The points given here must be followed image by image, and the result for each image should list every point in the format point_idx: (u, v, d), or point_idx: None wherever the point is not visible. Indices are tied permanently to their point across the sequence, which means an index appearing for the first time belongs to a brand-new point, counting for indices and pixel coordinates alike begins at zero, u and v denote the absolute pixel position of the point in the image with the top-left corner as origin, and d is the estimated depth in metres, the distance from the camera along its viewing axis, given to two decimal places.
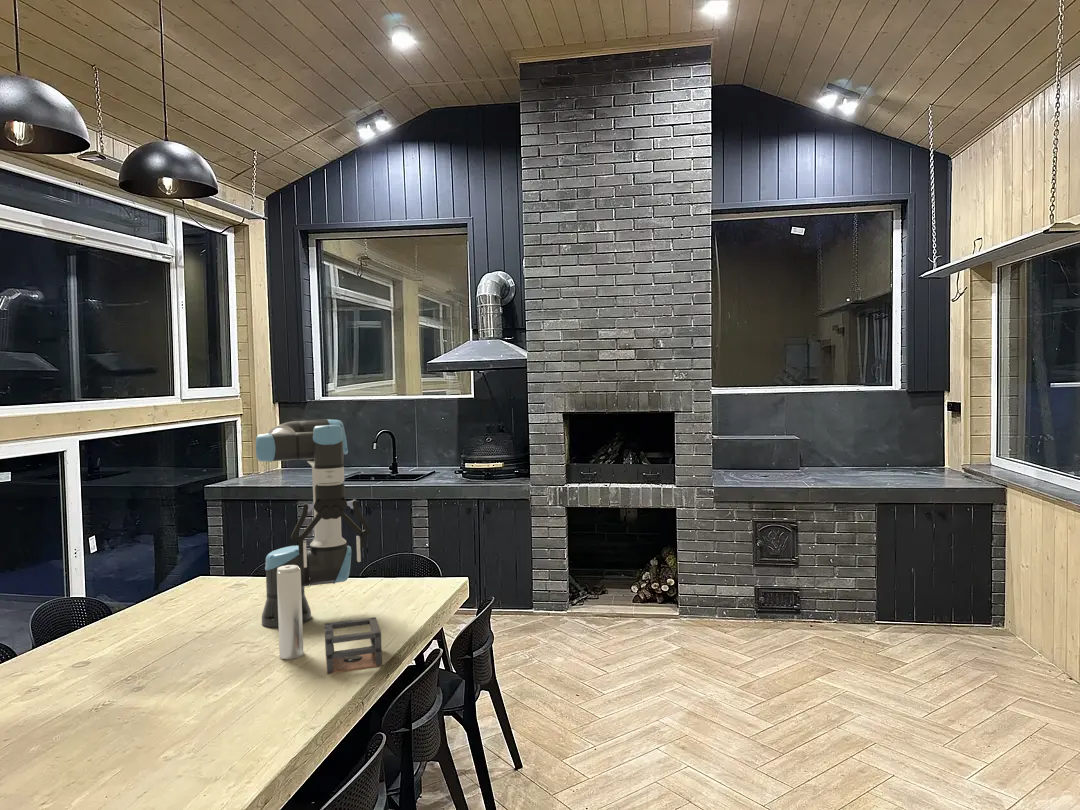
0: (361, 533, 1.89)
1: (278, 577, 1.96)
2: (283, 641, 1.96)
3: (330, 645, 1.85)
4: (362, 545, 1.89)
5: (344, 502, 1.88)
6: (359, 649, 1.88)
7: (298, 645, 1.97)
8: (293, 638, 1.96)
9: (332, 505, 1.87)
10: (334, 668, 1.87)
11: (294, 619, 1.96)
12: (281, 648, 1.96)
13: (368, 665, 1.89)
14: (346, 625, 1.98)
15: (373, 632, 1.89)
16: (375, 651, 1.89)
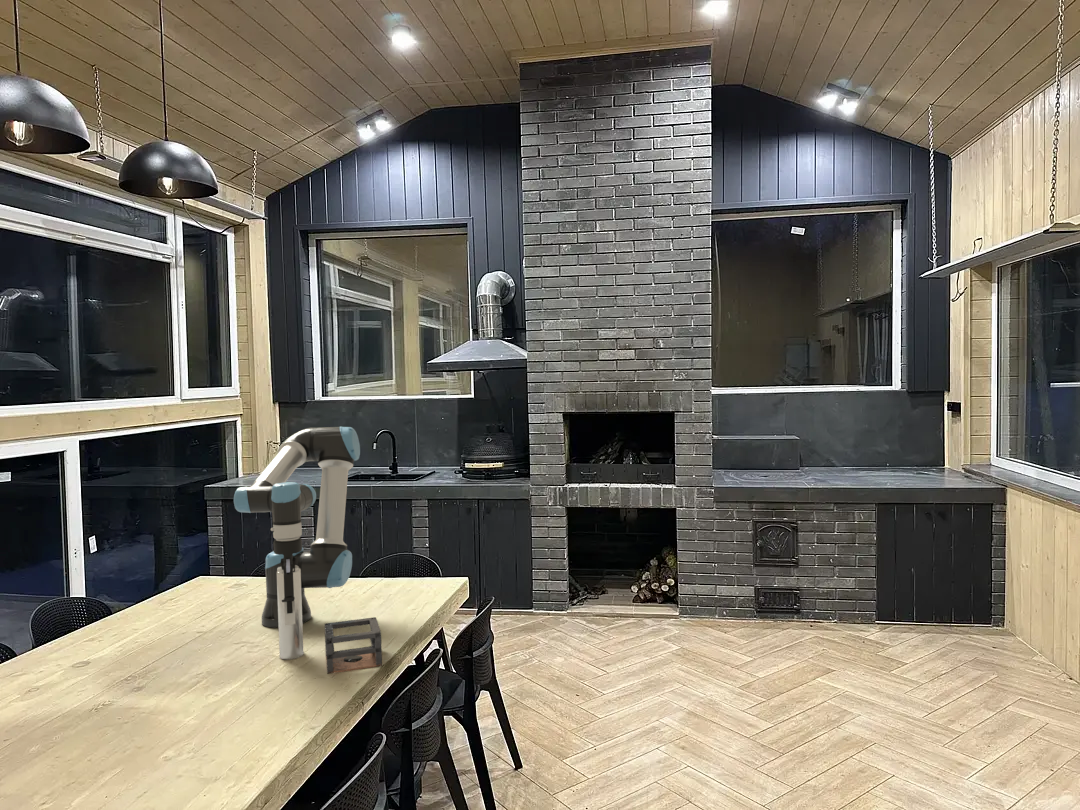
0: None
1: (278, 578, 1.96)
2: (283, 641, 1.96)
3: (330, 645, 1.85)
4: (287, 610, 1.95)
5: (284, 560, 1.95)
6: (359, 649, 1.88)
7: (298, 645, 1.97)
8: (293, 638, 1.96)
9: None
10: (334, 668, 1.87)
11: None
12: (280, 648, 1.96)
13: (368, 665, 1.89)
14: (346, 625, 1.98)
15: (373, 632, 1.89)
16: (375, 651, 1.89)
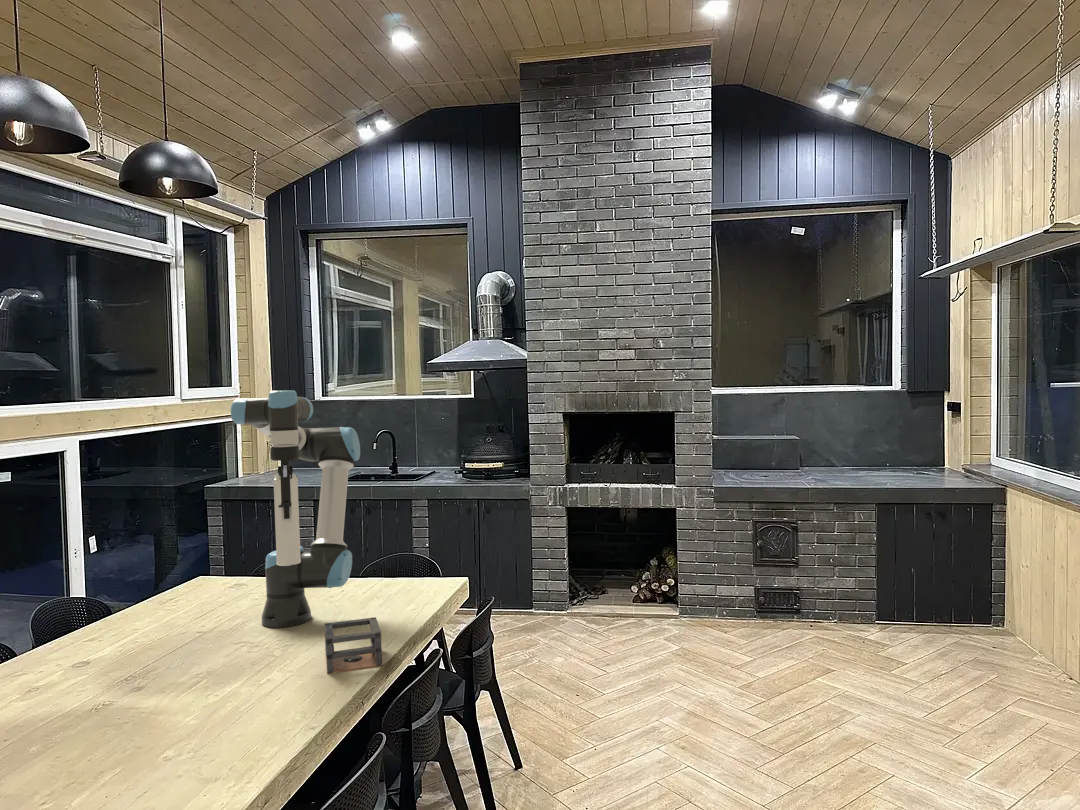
0: None
1: (275, 484, 1.96)
2: (280, 547, 1.96)
3: (330, 645, 1.85)
4: (284, 515, 1.94)
5: (280, 466, 1.94)
6: (359, 649, 1.88)
7: (295, 552, 1.97)
8: (290, 544, 1.96)
9: None
10: (334, 668, 1.87)
11: None
12: (278, 555, 1.96)
13: (368, 665, 1.89)
14: (346, 625, 1.98)
15: (373, 632, 1.89)
16: (375, 651, 1.89)
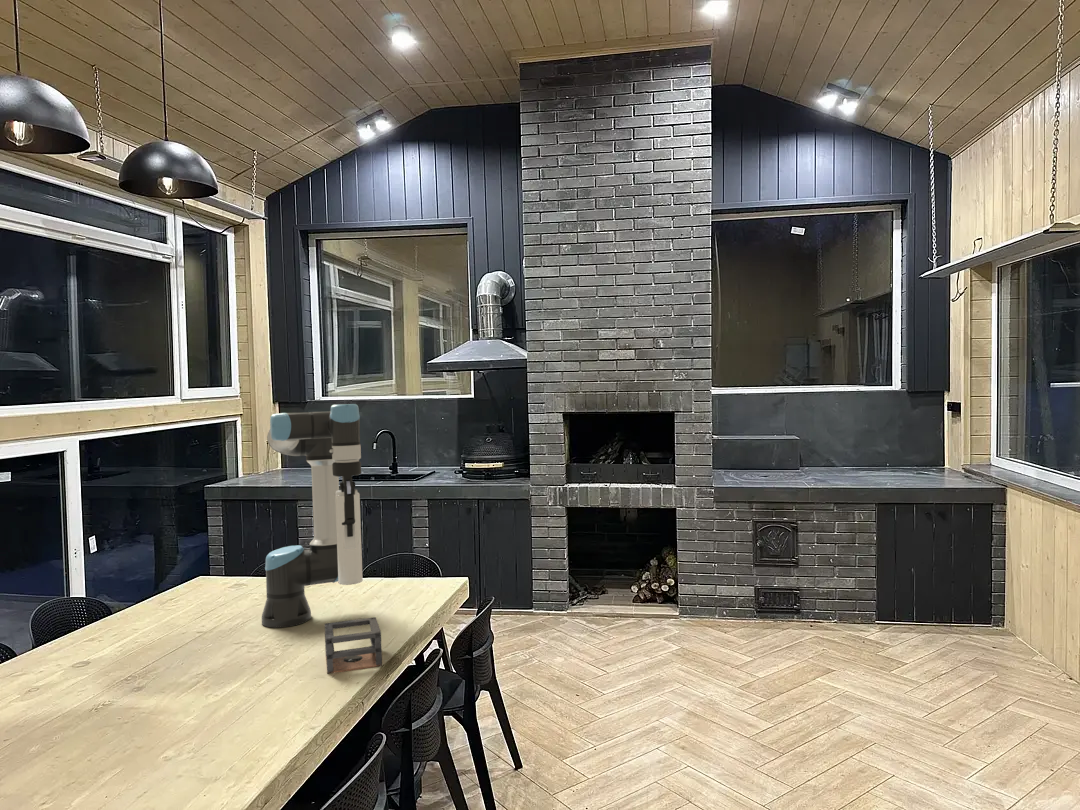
0: None
1: (337, 500, 1.90)
2: (342, 566, 1.90)
3: (330, 645, 1.85)
4: (347, 533, 1.89)
5: (344, 482, 1.89)
6: (359, 649, 1.88)
7: (357, 570, 1.91)
8: (353, 563, 1.90)
9: None
10: (334, 668, 1.87)
11: None
12: (340, 574, 1.90)
13: (368, 665, 1.89)
14: (346, 625, 1.98)
15: (373, 632, 1.89)
16: (375, 651, 1.89)
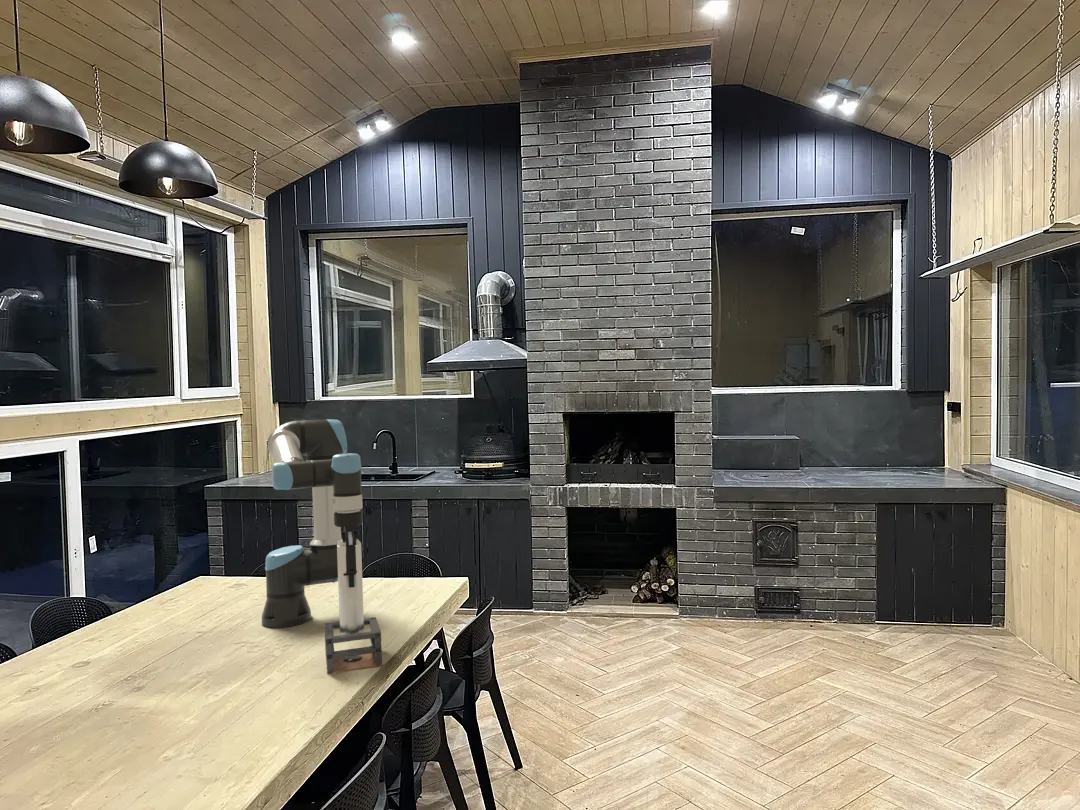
0: (346, 571, 1.89)
1: (339, 551, 1.90)
2: (344, 616, 1.90)
3: (330, 645, 1.85)
4: (349, 584, 1.89)
5: (345, 533, 1.89)
6: (359, 649, 1.88)
7: (359, 620, 1.91)
8: (354, 613, 1.91)
9: (344, 528, 1.92)
10: (334, 668, 1.87)
11: None
12: (341, 624, 1.91)
13: (368, 665, 1.89)
14: None
15: (373, 632, 1.89)
16: (375, 651, 1.89)
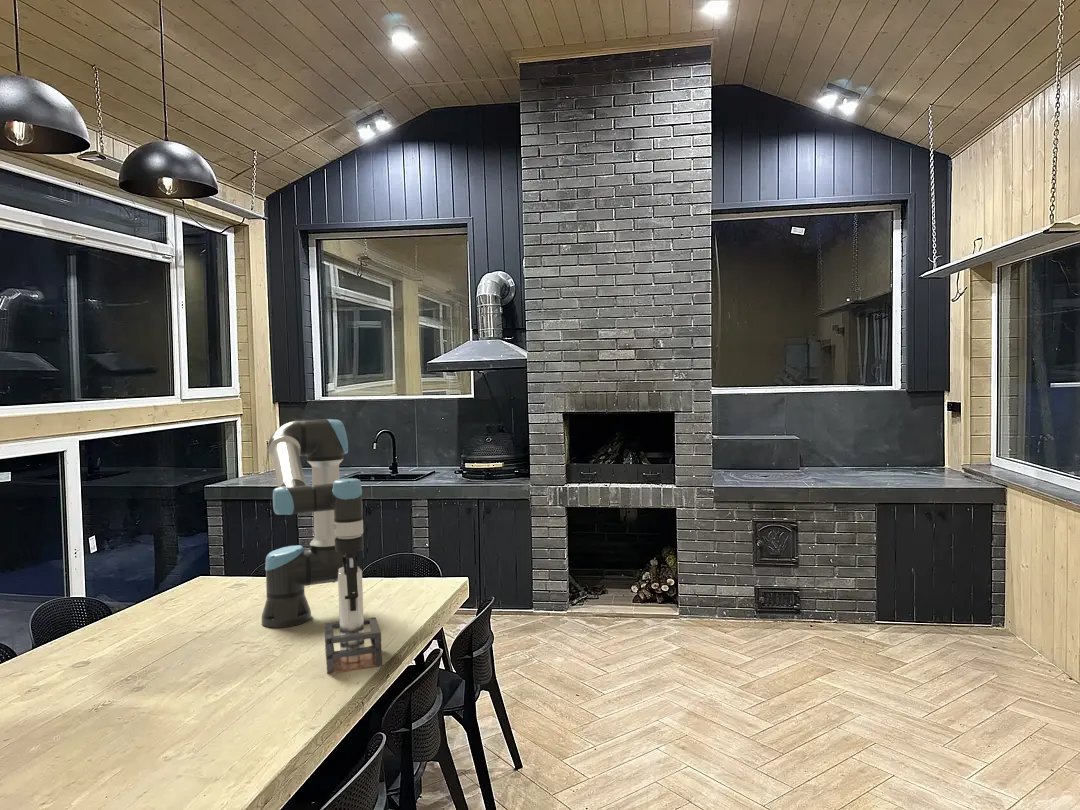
0: (347, 595, 1.86)
1: (340, 579, 1.91)
2: (345, 644, 1.91)
3: (330, 645, 1.85)
4: (350, 607, 1.86)
5: (346, 558, 1.89)
6: (359, 649, 1.88)
7: None
8: (355, 641, 1.91)
9: (345, 556, 1.92)
10: (334, 668, 1.87)
11: None
12: None
13: (368, 665, 1.89)
14: None
15: (373, 632, 1.89)
16: (375, 651, 1.89)
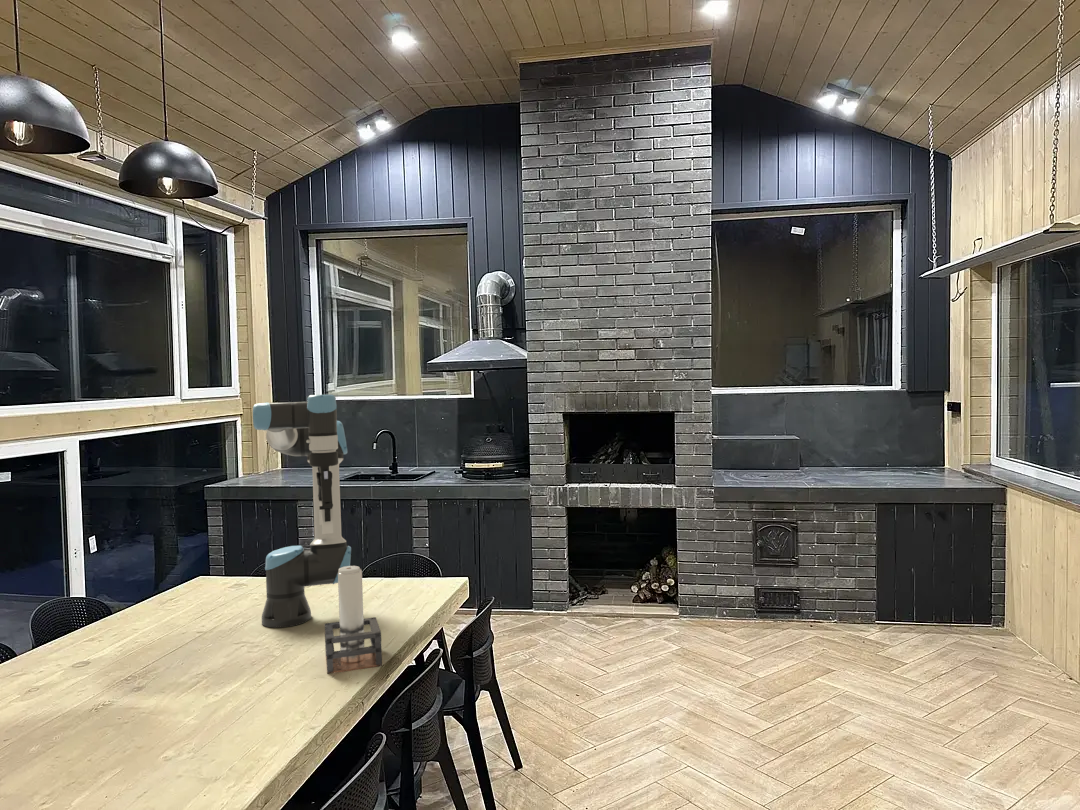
0: (322, 505, 1.86)
1: (340, 579, 1.91)
2: (345, 644, 1.91)
3: (330, 645, 1.85)
4: (325, 518, 1.86)
5: (320, 471, 1.90)
6: (359, 649, 1.88)
7: None
8: (355, 641, 1.91)
9: None
10: (334, 668, 1.87)
11: (356, 621, 1.91)
12: None
13: (368, 665, 1.89)
14: None
15: (373, 632, 1.89)
16: (375, 651, 1.89)
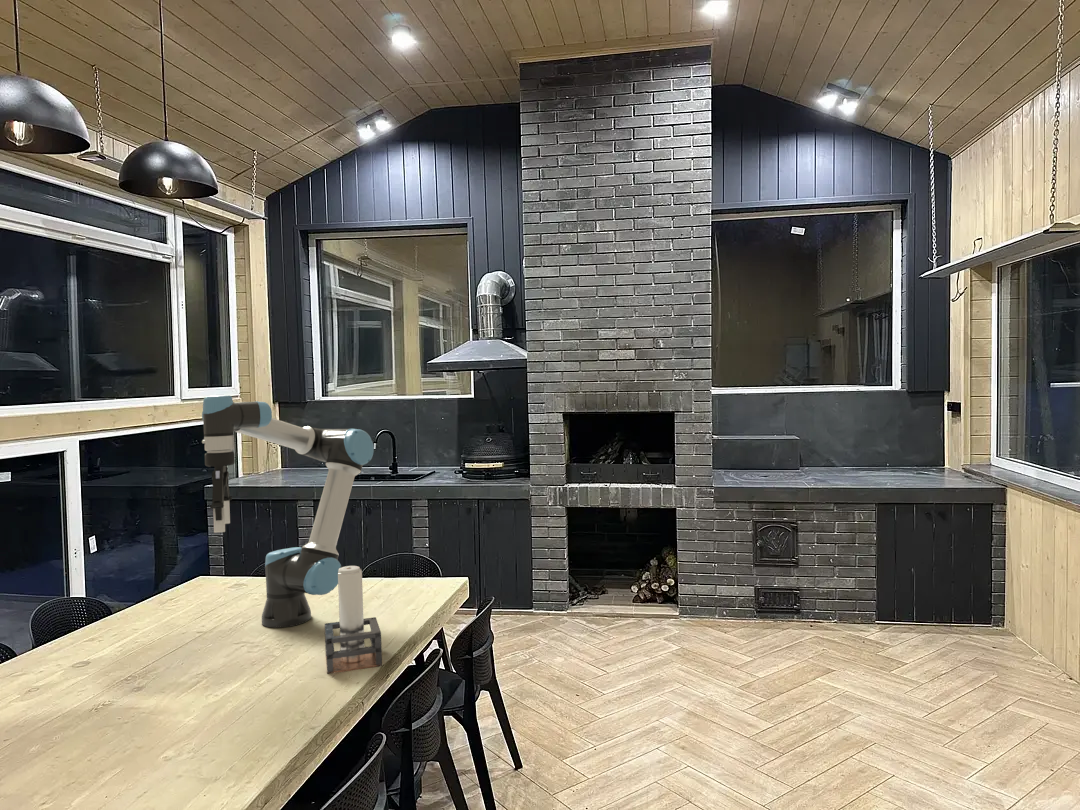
0: None
1: (340, 579, 1.91)
2: (345, 644, 1.91)
3: (330, 645, 1.85)
4: (215, 517, 1.89)
5: (214, 471, 1.93)
6: (359, 649, 1.88)
7: None
8: (355, 641, 1.91)
9: None
10: (334, 668, 1.87)
11: (356, 621, 1.91)
12: None
13: (368, 665, 1.89)
14: None
15: (373, 632, 1.89)
16: (375, 651, 1.89)
